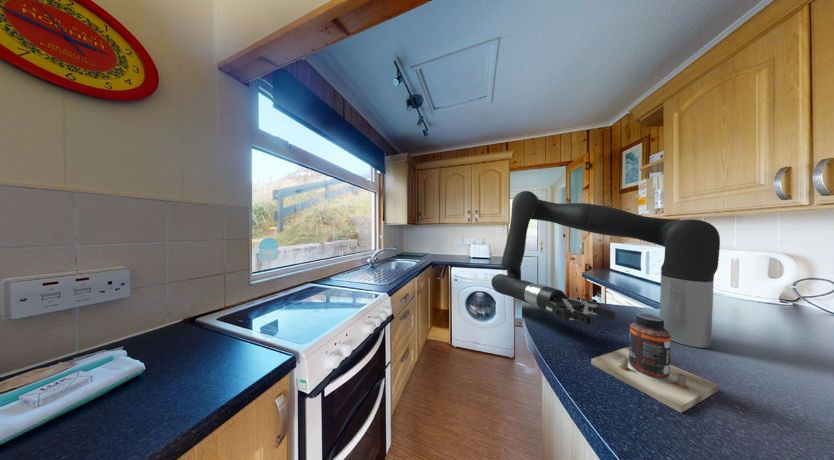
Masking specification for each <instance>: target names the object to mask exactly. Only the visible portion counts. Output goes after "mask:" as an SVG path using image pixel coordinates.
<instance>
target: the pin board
mask: <svg viewBox="0 0 834 460" xmlns="http://www.w3.org/2000/svg"><path fill="white" fill-rule="evenodd" d="M590 365H592V366H594V367H595V368H597V369H599V370H601V371H603V372H605V373H606V374H608V375H611V376H612V377H614V378H616V379H617V380H619V381H621V382H624V383H625V384H627V385H629V386H630V387H633V388H634V389H636V390H639V391H640V392H642V393H643V394H645V395H647V396H649V397H651V398H653V399H655V400H657V401H658V402H660V403H662V404H664V405H666V406H668V407H669V408H671V409H673V410H675V411H677V412H678V413H681V414H682V413H683V412H685V411H687V410H689V409H690V408H692V407H694V406H696V405H697V404H699V403H701V402H702V401H704V400H705V399H707V398H709V397H710V396H712V395H714V394H715V393H717V392H719V384H718V383H714V382H713V381H710V380H708V379H705V378H704V377H701V376H698V375H696V374H693V373H691V372H689V371H686V370H683V369H681V368H679V367H676V366H674V365H672V364H670V374H669V377H666V378H658V377H653V376H650V375H646V374H644V373H642V372H640V371H638V370H636V369H635V368H633V367H632V366H631V365H630V363H629V346H626V347H624V348H620V349H617V350H613V351H612V352H608V353H604V354H601V355H599V356H595V357H593V358H591V359H590Z"/></svg>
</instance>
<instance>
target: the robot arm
mask: <svg viewBox="0 0 834 460" xmlns="http://www.w3.org/2000/svg"><path fill="white" fill-rule="evenodd" d="M510 214H511V216H510V224H509V230H508V235H507V238H506V243H505V247H504V251H503V255H502V259H501V262H500V263H501V267H503V268H504V269H506V274H504V273H498V274H495V275H494V276H493V277H492V279H491V286H492V288H493V290H494V291H495V292H497V293H498V294H501V295H504V296H507V297H511V298H514V299H517V300H519V301H521V302H524V303H527V304H529V305H530V306H532V307H534V308H536V309H539V310H541V311H543V312H546V313H547V314H550V315H552V316H554V317H556V318H559V319H561V320H563V321H568V320H570V321H577V322H580V323H582V324H585V325H586V326H593V325H594V317H593V316H592V315H596V316H598V317H601V318H605V319H608V320H611V321H615V320H616V312H615V311H614V310H611V309H608V308H606V307H605V308H604V307H601V303H600V302H595V301H592V300H589V299H585V298H582V297H576V299H575V298H574V297H572V298H571V297H567V296H566V293H565V292H564V291H563V290H560V289H557V288H553V287H552V286H551V287H550V286H548V285H544V284H542V283H541V284H540V283H535V282H532V281H527V280H522V269H521V268H522V263H523V259H524V256H525V252H526V242H527V241H526V240H527V235H528V234H527V233H528V228H529V224H530V221H531V220H535V221H543V222H549V223H554V224H557V225H561V226H564V227H567V228H570V229H571V228H572V229H575V230H579V231H584V232H587V233H592V234H598V235H603V236H611V237H617V238H618V237H620V238H629V239H634V240H639V241H643V242H646V243H647V242H648V243H651V244H654V245H658V246H661V247H664V260H663V263H662V264H661V268H660V294H659V295H660V297H659V317H660V318H662V319H663V320H664V326H663V327H664V329H666V330H667V331H668V332H669V333H670V335H671V342H675V343H678V344H681V345H685V346H689V347H694V348H700V349H701V348H702V349H704V348H705V349H709V348H711V347H712V333H713V332H712V331H713V310H714V309H713V308H714V307H713V305H714V282H715V281H714V280H715V279H714V278H715V274H716V273H717V270H718V267H719V260H720V251H721V250H720V247H721V236H720V233H719V231H718V229H717V228H716V227H715V226H714V225H713V224H711V223H710V222H707V221H704V220H702V219H701V220H700V219H695V218H694V219H672V218H670V219H669V218H660V217H654V216H653V217H650V216H646V215H640V214H638V213H634V212H633V213H632V212H630V211H627V210H623V209H620V208H619V209H618V208H616V207H612V206H607V205H606V206H605V205H600V204H594V203H585V202H571V203H570V202H569V203H568V202H567V203H558V202H551V201H548V200H542V199H539V198H538V196H537V195H536V194H535V193H534V192H532V191H530V190H524V191H519V192H517V194H516V195H515V196H514V197H513V199H512V203H511V213H510Z"/></svg>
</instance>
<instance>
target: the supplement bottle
mask: <svg viewBox="0 0 834 460" xmlns="http://www.w3.org/2000/svg"><path fill="white" fill-rule="evenodd" d="M663 326H664V320H663V319H662V318H660V316H657V315H655V314H654V315H653V314H649V313H636V318H635V321H634V322H632V323H631V324H630V325H629V346H628V347H629V363H630V365H631V366H632V367H633V368H635V369H636V370H638V371H640V372H642V373H644V374H646V375H650V376H653V377H658V378H666V377H669V374H670V365H671V345H672V341H671V335H670V333H669V332H668V331H667V330H666V329H664V327H663Z"/></svg>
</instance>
